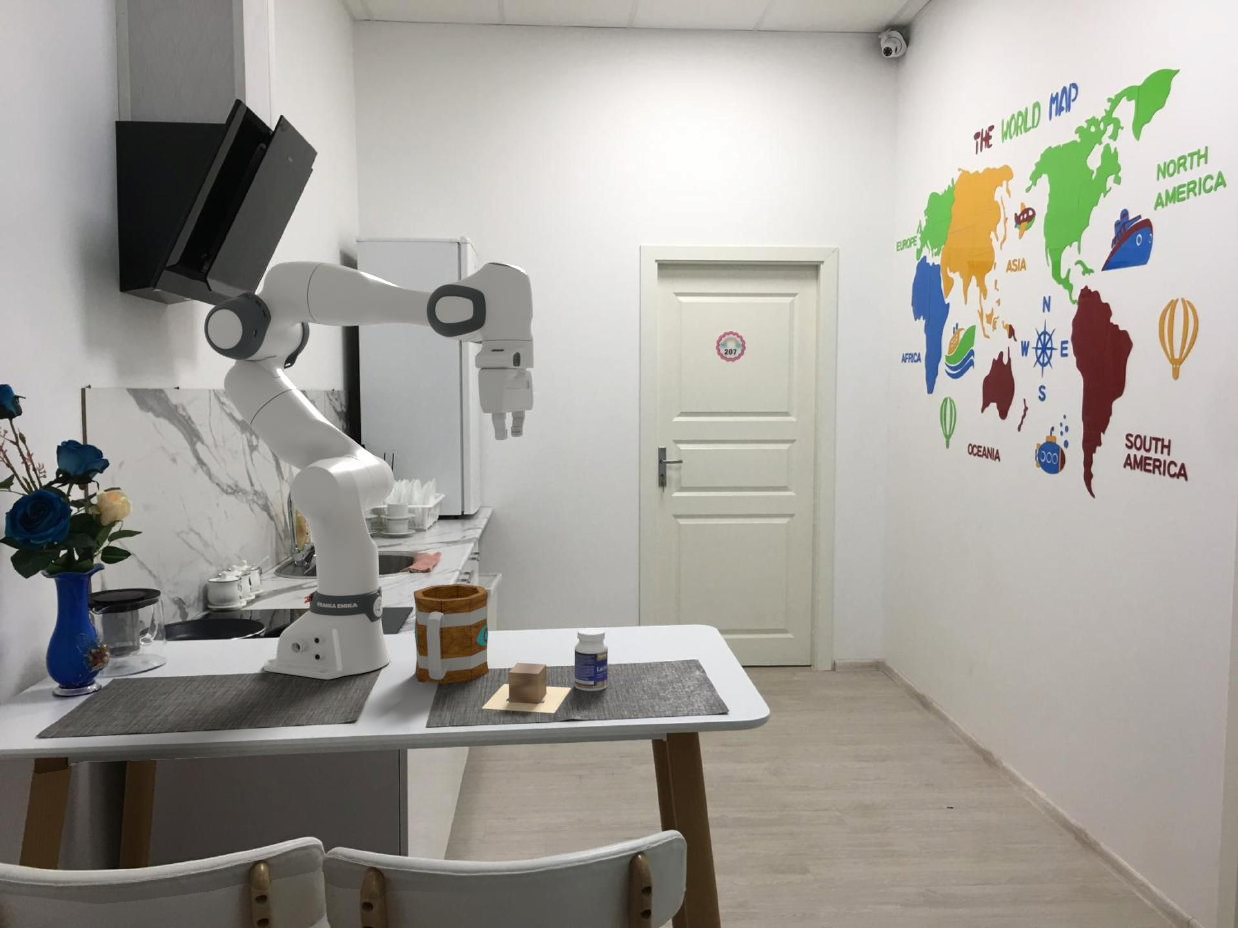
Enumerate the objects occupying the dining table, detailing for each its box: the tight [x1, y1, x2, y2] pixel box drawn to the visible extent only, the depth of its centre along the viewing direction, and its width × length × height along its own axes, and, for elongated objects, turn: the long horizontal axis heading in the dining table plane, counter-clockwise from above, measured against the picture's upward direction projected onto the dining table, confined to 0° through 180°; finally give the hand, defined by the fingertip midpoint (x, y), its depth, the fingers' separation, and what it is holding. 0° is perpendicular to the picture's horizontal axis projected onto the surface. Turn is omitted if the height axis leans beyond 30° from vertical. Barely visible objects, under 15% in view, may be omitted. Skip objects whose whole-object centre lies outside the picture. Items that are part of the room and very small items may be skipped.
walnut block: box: [508, 662, 547, 704], centre depth 150 cm, size 5×5×5 cm
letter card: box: [481, 683, 572, 714], centre depth 150 cm, size 12×12×1 cm
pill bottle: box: [574, 627, 609, 692], centre depth 156 cm, size 6×6×10 cm
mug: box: [413, 583, 490, 685], centre depth 160 cm, size 20×14×15 cm
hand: (509, 438), depth 158 cm, fingers open, 8 cm apart
